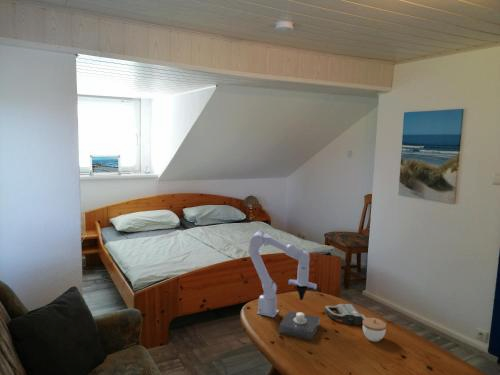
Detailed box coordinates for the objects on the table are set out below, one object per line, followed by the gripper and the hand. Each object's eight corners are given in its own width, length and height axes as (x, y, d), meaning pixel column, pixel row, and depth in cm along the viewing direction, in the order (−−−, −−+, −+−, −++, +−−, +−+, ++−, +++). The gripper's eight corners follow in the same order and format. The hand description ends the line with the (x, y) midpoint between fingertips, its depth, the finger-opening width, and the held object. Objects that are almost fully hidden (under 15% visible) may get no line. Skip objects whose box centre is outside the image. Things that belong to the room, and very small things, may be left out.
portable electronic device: (347, 308, 210) (348, 299, 209) (371, 326, 191) (372, 316, 190) (322, 313, 204) (322, 303, 203) (343, 331, 185) (344, 321, 184)
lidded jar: (357, 333, 183) (358, 315, 182) (376, 331, 186) (378, 313, 184) (369, 345, 173) (370, 326, 171) (389, 343, 175) (391, 324, 174)
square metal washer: (279, 332, 181) (279, 324, 181) (288, 318, 196) (289, 310, 195) (311, 340, 175) (312, 332, 175) (319, 325, 190) (319, 317, 189)
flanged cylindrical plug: (291, 326, 184) (291, 315, 183) (295, 320, 190) (296, 310, 189) (304, 329, 181) (305, 318, 180) (308, 323, 187) (308, 312, 186)
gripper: (287, 274, 194) (286, 299, 196) (315, 279, 189) (313, 305, 191) (291, 270, 201) (289, 294, 203) (318, 274, 195) (316, 299, 197)
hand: (301, 299), depth 197 cm, fingers closed
